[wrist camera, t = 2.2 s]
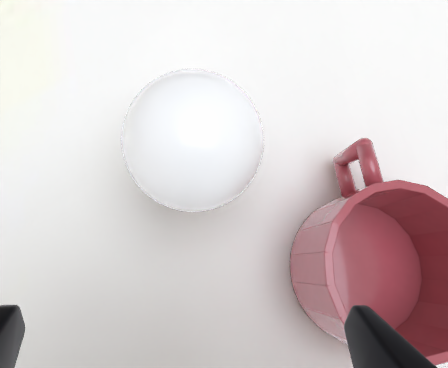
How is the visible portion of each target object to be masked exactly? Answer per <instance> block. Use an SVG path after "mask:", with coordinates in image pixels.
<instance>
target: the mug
mask: <svg viewBox="0 0 448 368" xmlns="http://www.w3.org/2000/svg"><path fill="white" fill-rule="evenodd" d="M356 160H359V163H360V167H361V171H362V174H363V178H364V182H365V186H366V187H364V188H361V189H359V190H356V188H355V184H354V180H353V176H352V172H351V169H350V165H349V164H351V163H353V162H354V161H356ZM333 164H334V168H335V172H336V176H337V180H338V184H339V188H340V192H341V196H342V197H340V198H337V199H335V200H332V201H331V202H329V203H327V204H325V205H323V206H322V207H320V208H318V209H317V210H315V211H314V212H313V213H312V214H311V215H310V216H309V217H308V218H307V219H306V220H305V221H304V223H303V224H302V225H301V227H300V228H299V230H298V232H297V234H296V237H295V239H294V242H293V246H292V250H291V257H290V273H291V280H292V284H293V288H294V291H295V294H296V296H297V299H298V301H299V303H300V304H301V306H302V308H303V310H304V311H305V312H306V314H307V315H308V317H309V318H310V319H311V320H312V321H313V322H314V323H315V324H316V325H317V326H318V327H319V328H321V329H322V330H323V331H325V332H326V333H328V334H329V335H331V336H333V337H335V338H337V339H339V340H340V341H342V342H344V343H346V344H347V340H346V336H345V331H344V323H345V320H346V318H347V316H348V314H349V312H350V310H351V308H352V306H354V305H366V306H369V307H370V308H371V309H372V310H373V311H375V312H376V313H377V314H378V315H379V316H380V317H381V318H382V319H384V320H385V321H386V322H387V323H388V324H389V325H390V326H391V327H392V328H394V329H395V330H396V331H397V332H398V333H399V334H400V335H401V336H402V337H404V338H405V339H406V340H407V341H408V342H409V343H410V344H411V345H413V346H414V347H415V348H416V349H417V350H418V351H419V352H420V353H421V354H423V355H424V356H425V357H426V358H427V359H428V360H429V361H430V362H431V363H433V364H434V365H438V364H442V363H445V362H448V198H446V197H444V196H443V195H441V194H439V193H438V192H436V191H434V190H433V189H431V188H429V187H428V186H425V185H420V184H416V183H411V182H407V181H402V180H394V181H388V182H383V178H382V175H381V171H380V168H379V164H378V161H377V157H376V153H375V150H374V146H373V143H372V141H371V140H370V139H368V138H361V139H359V140H358V141H356V142H355V143H353V144H352V145H350V146H349V147H348V148H346V149H345V150H343V151H342V152H340V153H339V154H337V155H336V156H335V157H334V159H333Z"/></svg>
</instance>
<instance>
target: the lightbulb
mask: <svg viewBox="0 0 448 368" xmlns="http://www.w3.org/2000/svg"><path fill="white" fill-rule="evenodd" d="M121 145H122V152H123V157H124V161H125V164H126V166H127V169H128V171H129V173H130V175H131V177H132V178H133V180H134V181H135V183H136V184H137V185H138V186H139V188H140V189H141V190H142V191H143V192H144V193H145V194H146V195H148V196H149V197H150V198H152V199H153V200H154V201H156V202H158V203H160V204H162V205H164V206H166V207H168V208H171V209H175V210H179V211H185V212H202V211H208V210H212V209H215V208H218V207H221V206H223V205H225V204H227V203H229V202H231V201H232V200H234V199H235V198H236V197H238V196H239V195H240V194H241V193H242V192H243V191H244V190H245V189H246V188H247V187H248V186H249V184H250V183H251V182H252V180H253V179H254V177H255V175H256V173H257V171H258V169H259V166H260V163H261V160H262V156H263V149H264V133H263V127H262V123H261V119H260V116H259V114H258V111H257V109H256V107H255V105H254V104H253V102H252V100H251V99H250V98H249V96H248V95H247V94H246V93H245V92H244V91H243V90H242V89H241V88H240V87H239V86H238V85H237V84H235V83H234V82H233V81H231V80H230V79H228V78H226V77H224V76H222V75H220V74H218V73H215V72H212V71H208V70H202V69H182V70H176V71H172V72H169V73H166V74H164V75H162V76H160V77H158V78H156V79H154V80H153V81H151V82H150V83H149V84H147V85H146V86H145V87H144V88H143V89H142V90H141V91H140V92H139V93H138V94H137V96H136V97H135V98H134V100H133V101H132V103H131V104H130V106H129V108H128V110H127V113H126V116H125V119H124V122H123V127H122V135H121Z"/></svg>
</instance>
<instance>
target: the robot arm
mask: <svg viewBox="0 0 448 368" xmlns="http://www.w3.org/2000/svg"><path fill="white" fill-rule="evenodd" d="M344 331H345V336H346V340H347V344H348V347H349V351H350V355H351V359H352V363H353V367H354V368H437V367H436V366H435V365H434V364H433V363H431V362H430V361H429V360H428V359H427V358H426V357H425V356H424V355H423V354H421V353H420V352H419V351H418V350H417V349H416V348H415V347H414V346H413V345H411V344H410V343H409V342H408V341H407V340H406V339H405V338H404V337H402V336H401V335H400V334H399V333H398V332H397V331H396V330H395V329H394V328H392V327H391V326H390V325H389V324H388V323H387V322H386V321H385V320H384V319H382V318H381V317H380V316H379V315H378V314H377V313H376V312H375V311H373V310H372V309H371V308H370V307H369V306H366V305H354V306H352V308H351V310H350V312H349V314H348V316H347V318H346V320H345V323H344ZM24 332H25V324H24V321H23V317H22V314H21V310H20V308H19V306H17V305H1V306H0V368H14V367H15V363H16V360H17V357H18V353H19V350H20V347H21V343H22V340H23V337H24Z"/></svg>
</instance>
